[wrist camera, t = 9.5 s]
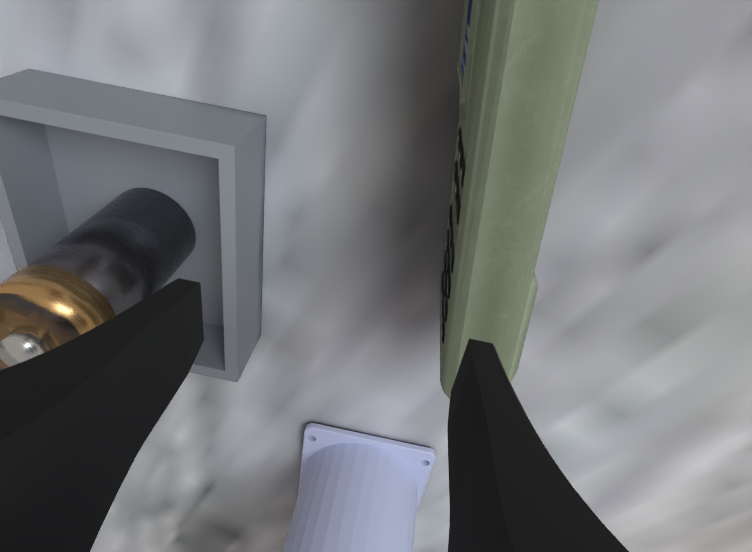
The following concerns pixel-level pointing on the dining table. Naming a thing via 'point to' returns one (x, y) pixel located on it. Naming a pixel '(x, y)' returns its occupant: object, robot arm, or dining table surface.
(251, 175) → the cell bin
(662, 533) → the dining table surface
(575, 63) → the handheld radio
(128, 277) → the battery cell
